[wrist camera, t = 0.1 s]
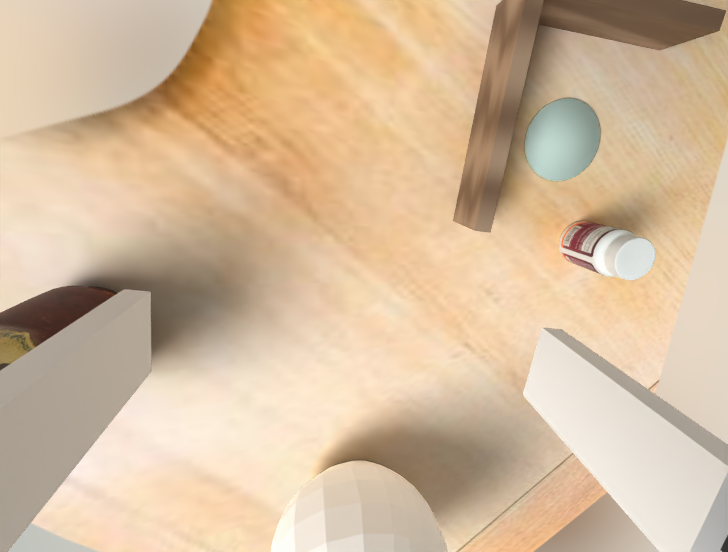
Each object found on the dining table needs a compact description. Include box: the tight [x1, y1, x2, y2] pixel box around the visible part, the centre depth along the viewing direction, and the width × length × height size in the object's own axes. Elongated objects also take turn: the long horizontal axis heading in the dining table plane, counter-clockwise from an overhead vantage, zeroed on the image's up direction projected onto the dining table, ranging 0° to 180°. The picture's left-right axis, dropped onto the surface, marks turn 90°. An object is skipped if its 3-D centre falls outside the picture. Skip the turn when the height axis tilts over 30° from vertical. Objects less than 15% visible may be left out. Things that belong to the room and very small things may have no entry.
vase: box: [0, 286, 117, 364], centre depth 28 cm, size 11×11×26 cm
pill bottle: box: [559, 221, 656, 280], centre depth 39 cm, size 5×5×8 cm
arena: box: [453, 0, 726, 232], centre depth 37 cm, size 21×18×6 cm
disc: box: [524, 98, 600, 181], centre depth 40 cm, size 8×8×1 cm
